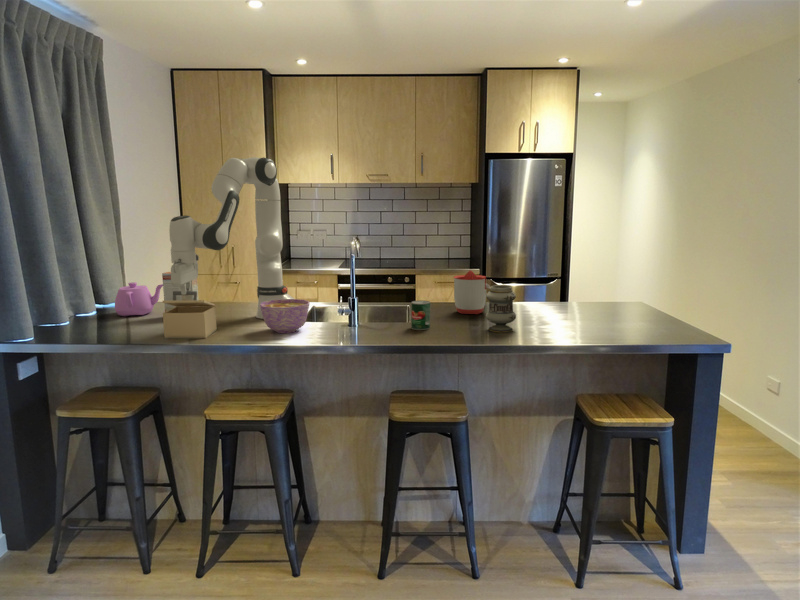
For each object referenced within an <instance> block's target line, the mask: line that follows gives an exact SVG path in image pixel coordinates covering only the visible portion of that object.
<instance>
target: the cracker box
mask: <svg viewBox="0 0 800 600" xmlns="http://www.w3.org/2000/svg"><path fill="white" fill-rule="evenodd" d="M161 276H162V284H163V286H162V288H163V289H162V291H163V301H169V300H173V291H181V289H180V287H179V285H172V283H171V271H166V272H163V273H162V274H161ZM198 286H199V285H198V278H197V279H194V280H192V281H191V287H190V291H197V300H200V298H199V289H198V288H199V287H198ZM193 297H194V295H176V300H193ZM163 304H164V313H165V312H167V311H169V310H171V309H173V308H175V307H176V306H173V305H169V304H166V303H163ZM182 307H200V306H182Z"/></svg>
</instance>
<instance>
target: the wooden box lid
mask: <svg viewBox="0 0 800 600" xmlns="http://www.w3.org/2000/svg"><path fill="white" fill-rule="evenodd" d="M176 295H182V294H181V291H173V300H169V301H164V300H162V304H164V303H166V304H169V305H173V306H176V307H182V306H199V307H214V306H215V307H216V304H215V303H213V302H211V301H208V300H204V299H201V300H200V299H199V300H197V291H187V294H185V295H194V297H193V300H176Z"/></svg>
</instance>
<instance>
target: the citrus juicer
mask: <svg viewBox="0 0 800 600" xmlns="http://www.w3.org/2000/svg"><path fill="white" fill-rule="evenodd" d="M453 279H454V280H453V282H454V283H453V289H454V290H453V296H454V297H453V298H454V299H453V300H454V304H455V309H456V312H458V313H460V314H462V315H464V314H465V315H467V314H468V315H479V314H481V313H483V311H484V309H485V306H486V302H487V301H486V300H487V296H486V295H487V289H491V286H490V283H489V284H488V283H487V276H486V275H480V274H479V275H478V274H475V273H474V272H473V270H469V271H468V272H467V273H466V274H460V275H455V276H453Z"/></svg>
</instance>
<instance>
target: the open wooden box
mask: <svg viewBox="0 0 800 600" xmlns="http://www.w3.org/2000/svg"><path fill="white" fill-rule="evenodd" d="M216 314H217V313H216V305H215V306H199V307H175V308H173V309H171V310H169V311H167V312H165V311H164V312H162V321H163V333H164V335H163V336H164V339H165V338H178V339H207V338H209V337H210V336H211V335H213V334H214V333H215V332H216V331H217V330H218V329H217V315H216Z"/></svg>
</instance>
